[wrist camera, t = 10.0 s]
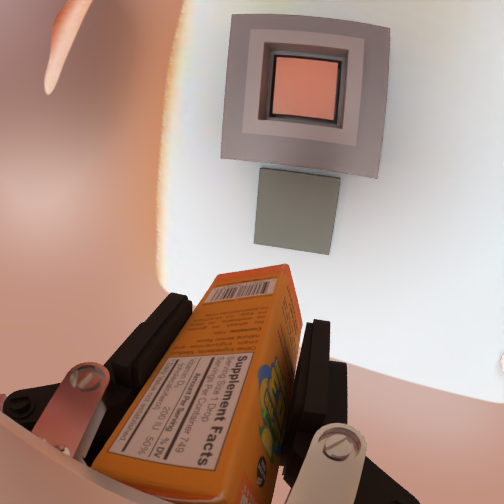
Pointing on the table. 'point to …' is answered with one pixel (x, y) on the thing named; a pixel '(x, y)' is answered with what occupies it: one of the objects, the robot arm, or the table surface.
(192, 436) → the supplement box
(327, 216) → the rest mat
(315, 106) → the breaker button
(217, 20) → the table surface
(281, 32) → the frame
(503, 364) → the milkshake
